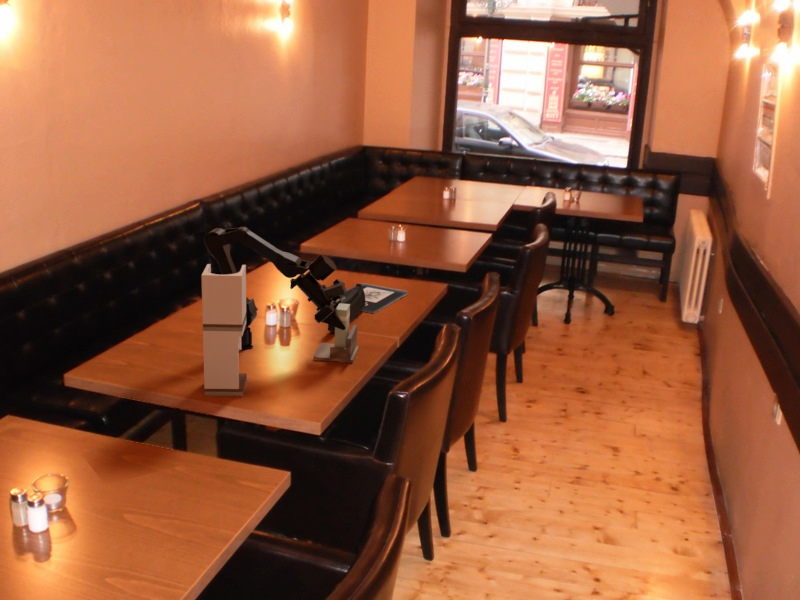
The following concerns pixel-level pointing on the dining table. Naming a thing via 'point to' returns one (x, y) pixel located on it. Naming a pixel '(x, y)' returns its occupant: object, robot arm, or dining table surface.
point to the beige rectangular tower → (223, 331)
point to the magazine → (353, 303)
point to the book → (344, 316)
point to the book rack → (339, 350)
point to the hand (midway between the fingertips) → (346, 325)
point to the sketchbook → (377, 297)
